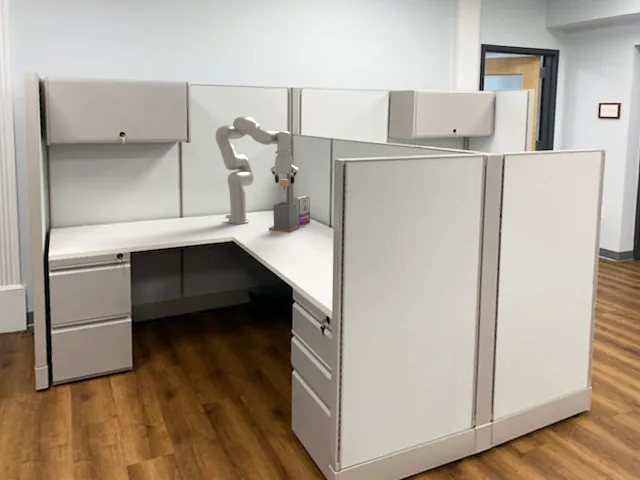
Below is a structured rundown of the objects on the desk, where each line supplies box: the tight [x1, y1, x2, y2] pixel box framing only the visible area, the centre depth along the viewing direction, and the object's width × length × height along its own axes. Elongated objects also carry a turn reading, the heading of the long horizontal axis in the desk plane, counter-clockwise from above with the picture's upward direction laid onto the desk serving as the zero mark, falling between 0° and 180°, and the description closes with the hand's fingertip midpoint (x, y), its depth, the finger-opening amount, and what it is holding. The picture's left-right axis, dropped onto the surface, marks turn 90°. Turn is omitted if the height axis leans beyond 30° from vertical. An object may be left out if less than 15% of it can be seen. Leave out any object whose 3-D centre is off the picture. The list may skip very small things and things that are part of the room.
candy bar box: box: [292, 195, 311, 226], centre depth 369 cm, size 11×5×16 cm, turn 146°
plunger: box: [279, 178, 290, 205], centre depth 349 cm, size 7×7×19 cm
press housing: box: [268, 201, 302, 233], centre depth 352 cm, size 14×14×15 cm
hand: (284, 183), depth 347 cm, fingers open, 9 cm apart
